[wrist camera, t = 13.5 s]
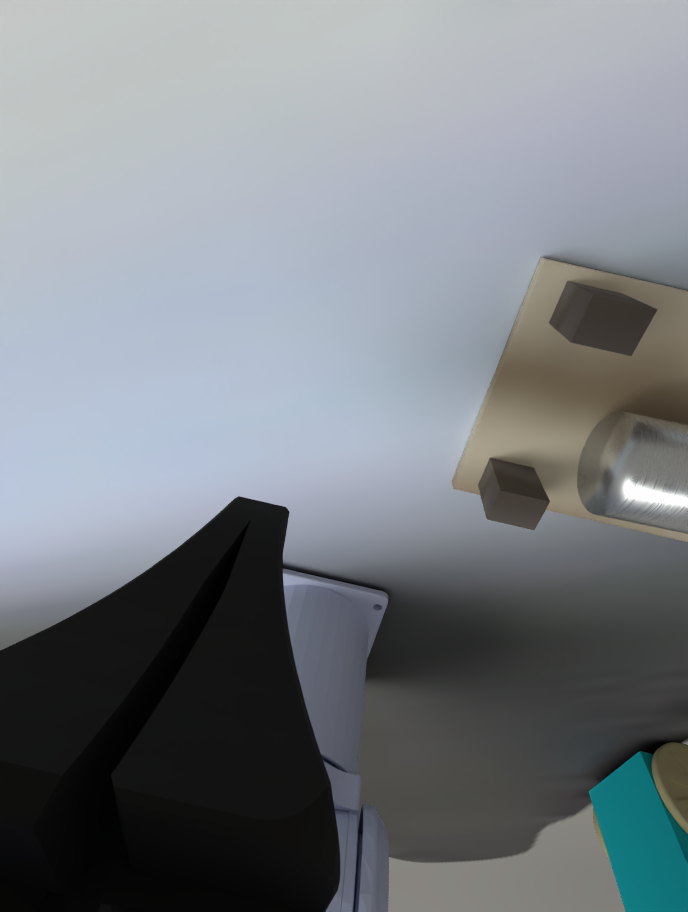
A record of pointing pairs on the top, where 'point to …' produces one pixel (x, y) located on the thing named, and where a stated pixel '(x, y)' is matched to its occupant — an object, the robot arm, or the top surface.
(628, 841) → the toy train
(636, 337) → the collar board
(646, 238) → the top surface
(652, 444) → the tube
